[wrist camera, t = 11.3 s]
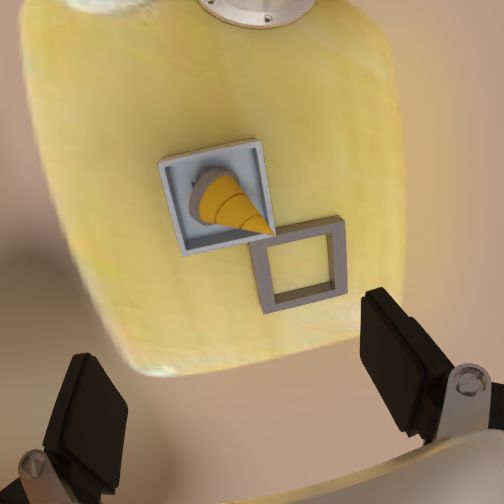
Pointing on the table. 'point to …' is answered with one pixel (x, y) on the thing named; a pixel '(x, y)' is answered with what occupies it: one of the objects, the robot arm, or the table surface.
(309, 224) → the holder panel
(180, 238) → the parts tray
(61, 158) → the table surface
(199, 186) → the grooved yellow cone
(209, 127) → the table surface
